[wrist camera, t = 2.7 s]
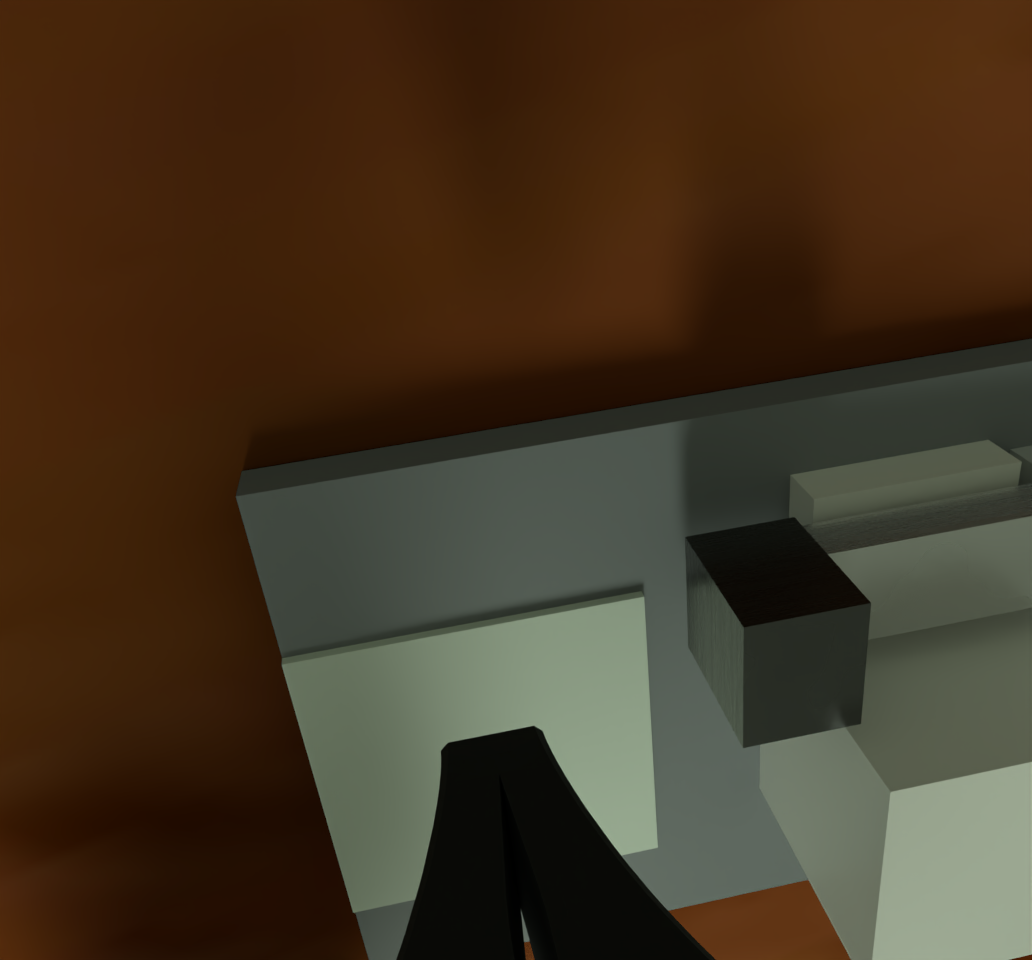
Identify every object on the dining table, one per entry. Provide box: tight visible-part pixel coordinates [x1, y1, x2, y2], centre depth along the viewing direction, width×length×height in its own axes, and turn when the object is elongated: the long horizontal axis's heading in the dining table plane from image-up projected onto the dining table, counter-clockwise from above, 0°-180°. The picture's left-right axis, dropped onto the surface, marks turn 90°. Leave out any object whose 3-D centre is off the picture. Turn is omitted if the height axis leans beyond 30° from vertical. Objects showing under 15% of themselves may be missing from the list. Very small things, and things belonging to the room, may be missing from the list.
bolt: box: [685, 483, 1032, 748], centre depth 16 cm, size 2×8×3 cm, turn 96°
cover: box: [759, 440, 1032, 960], centre depth 17 cm, size 8×5×5 cm, turn 6°
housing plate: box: [236, 339, 1032, 960], centre depth 20 cm, size 13×21×2 cm, turn 96°
